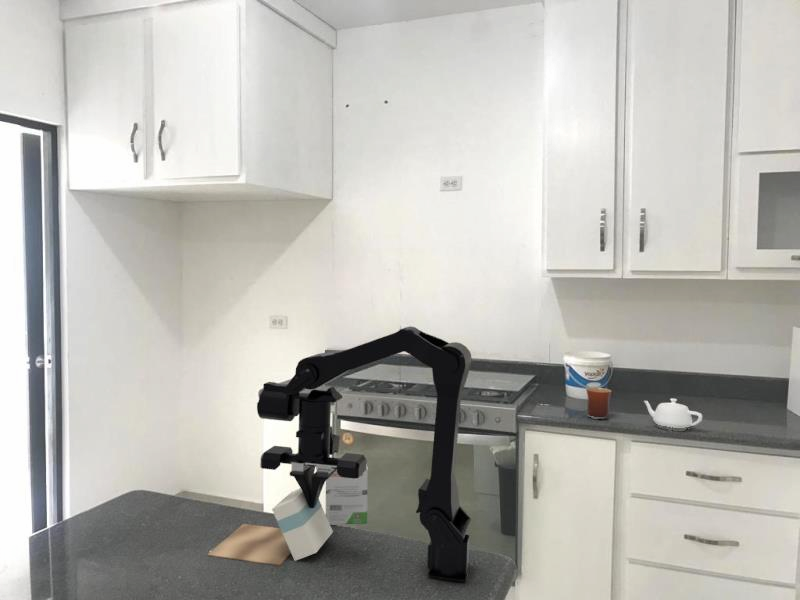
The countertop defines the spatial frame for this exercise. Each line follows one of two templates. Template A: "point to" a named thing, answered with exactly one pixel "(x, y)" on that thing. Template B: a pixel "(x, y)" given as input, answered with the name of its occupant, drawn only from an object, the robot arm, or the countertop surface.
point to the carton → (302, 524)
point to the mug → (598, 402)
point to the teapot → (673, 415)
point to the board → (254, 545)
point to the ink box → (347, 499)
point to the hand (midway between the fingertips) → (312, 507)
